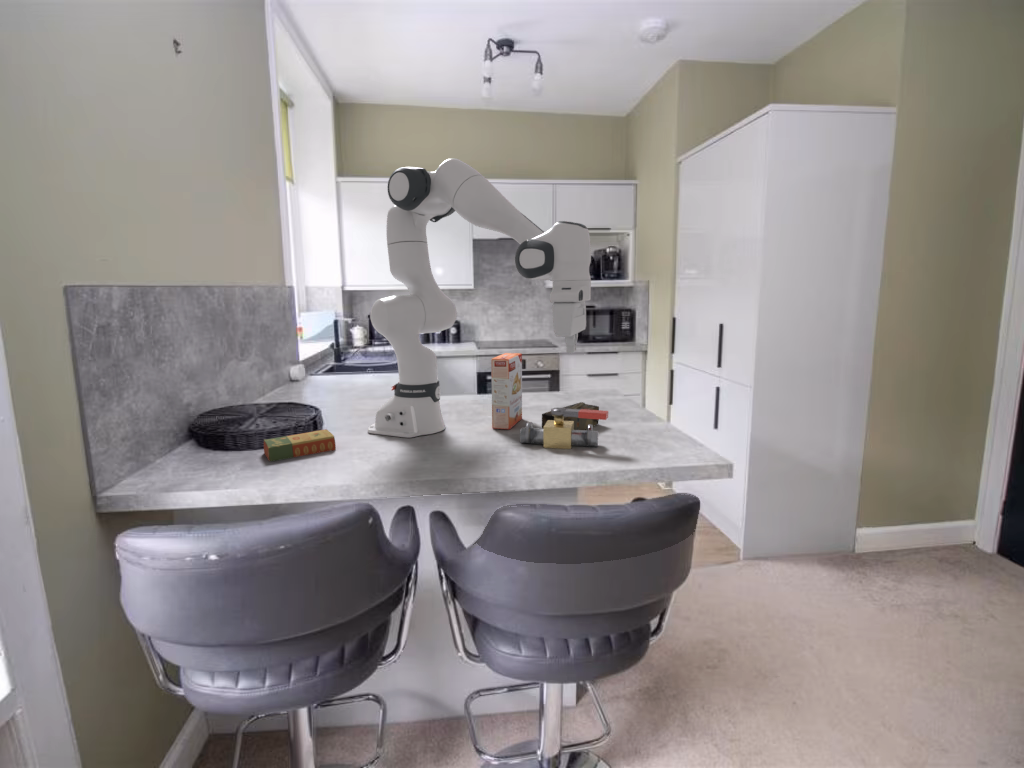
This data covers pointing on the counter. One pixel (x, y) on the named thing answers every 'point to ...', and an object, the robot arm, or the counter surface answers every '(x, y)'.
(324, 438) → the carton
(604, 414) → the lever
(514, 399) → the cracker box
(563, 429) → the valve body
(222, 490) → the counter surface
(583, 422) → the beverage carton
